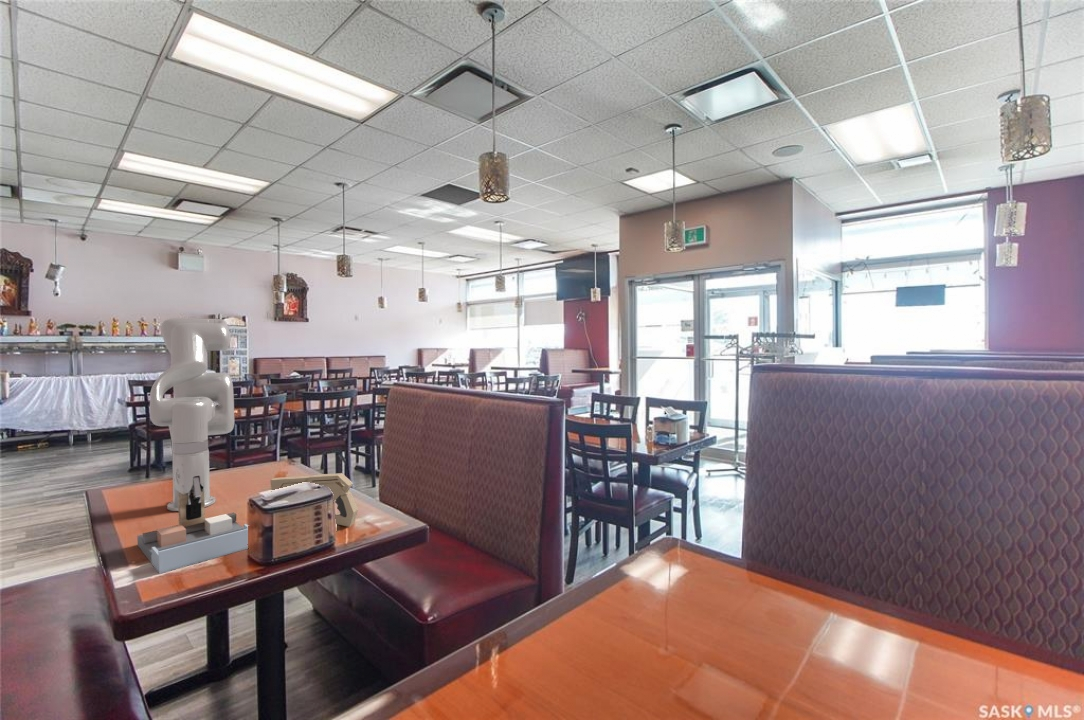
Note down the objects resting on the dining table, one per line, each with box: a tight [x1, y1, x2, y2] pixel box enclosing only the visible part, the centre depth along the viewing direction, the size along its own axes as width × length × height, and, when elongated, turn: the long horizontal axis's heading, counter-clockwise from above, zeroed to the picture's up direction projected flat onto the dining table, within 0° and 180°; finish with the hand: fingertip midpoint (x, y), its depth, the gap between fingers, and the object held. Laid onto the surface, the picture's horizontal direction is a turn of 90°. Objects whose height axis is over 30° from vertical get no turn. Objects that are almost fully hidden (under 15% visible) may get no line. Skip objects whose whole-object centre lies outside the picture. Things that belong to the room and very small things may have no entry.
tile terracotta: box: [156, 524, 186, 547], centre depth 121 cm, size 5×5×3 cm
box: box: [150, 523, 249, 574], centre depth 120 cm, size 8×20×5 cm, turn 139°
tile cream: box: [204, 513, 232, 535], centre depth 129 cm, size 5×5×3 cm
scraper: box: [142, 490, 237, 543], centre depth 127 cm, size 3×20×11 cm, turn 139°
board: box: [136, 521, 244, 563], centre depth 128 cm, size 15×20×2 cm
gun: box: [269, 472, 359, 528], centre depth 141 cm, size 24×3×15 cm, turn 84°
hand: (191, 516), depth 127 cm, fingers closed on scraper, 3 cm apart
